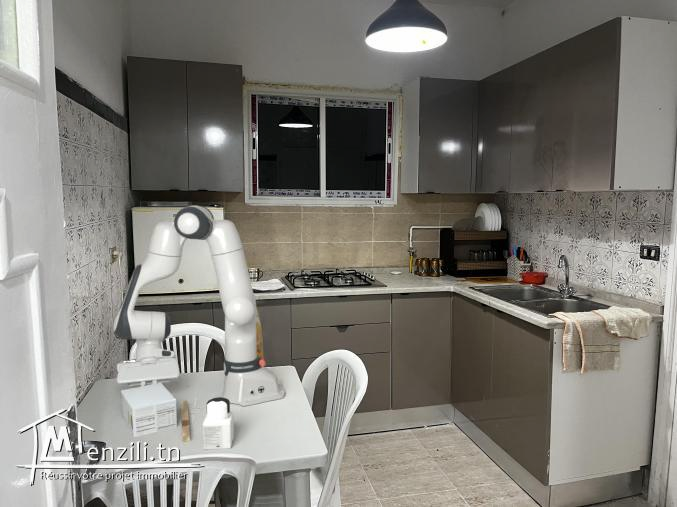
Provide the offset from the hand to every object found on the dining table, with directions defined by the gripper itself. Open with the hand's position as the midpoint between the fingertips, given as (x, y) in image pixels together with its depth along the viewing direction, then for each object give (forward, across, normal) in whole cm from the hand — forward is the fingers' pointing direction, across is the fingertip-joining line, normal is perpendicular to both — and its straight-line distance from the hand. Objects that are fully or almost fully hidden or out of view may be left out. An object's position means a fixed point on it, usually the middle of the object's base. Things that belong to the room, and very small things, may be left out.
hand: (149, 395), depth 168 cm
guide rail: (+14, +11, -6) cm, 19 cm away
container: (+26, +20, -18) cm, 37 cm away
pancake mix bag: (-10, +36, +17) cm, 41 cm away
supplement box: (+11, 0, -3) cm, 11 cm away
